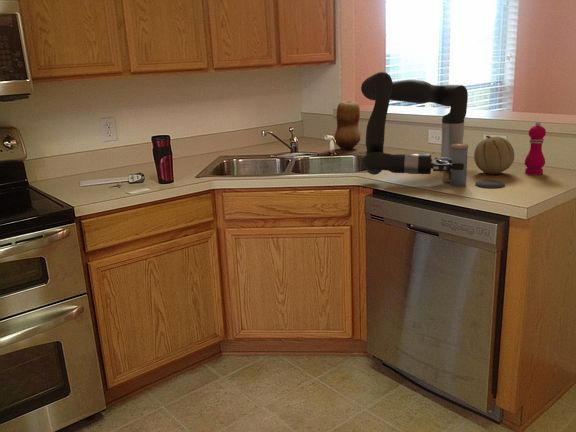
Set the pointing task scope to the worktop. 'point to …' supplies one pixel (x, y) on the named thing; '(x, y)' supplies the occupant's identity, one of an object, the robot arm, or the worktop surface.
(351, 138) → the butternut squash
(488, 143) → the cantaloupe
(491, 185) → the coaster
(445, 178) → the t block
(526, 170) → the pepper mill
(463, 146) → the canister
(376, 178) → the worktop surface
